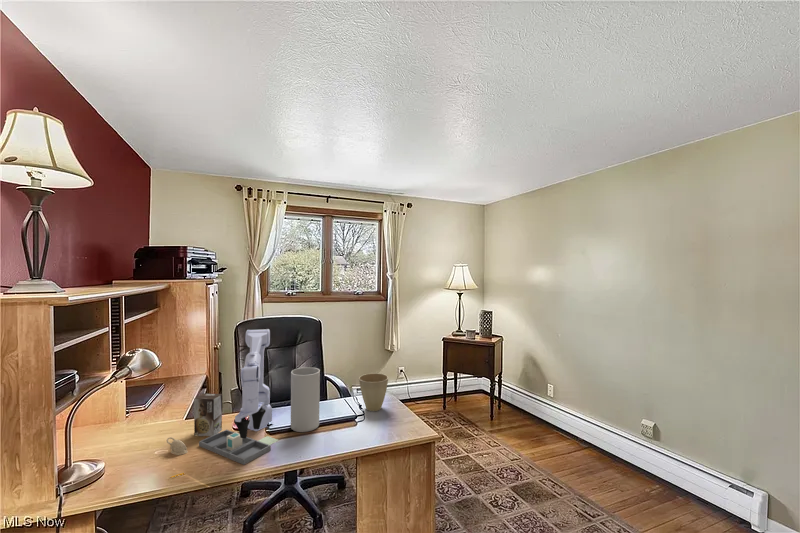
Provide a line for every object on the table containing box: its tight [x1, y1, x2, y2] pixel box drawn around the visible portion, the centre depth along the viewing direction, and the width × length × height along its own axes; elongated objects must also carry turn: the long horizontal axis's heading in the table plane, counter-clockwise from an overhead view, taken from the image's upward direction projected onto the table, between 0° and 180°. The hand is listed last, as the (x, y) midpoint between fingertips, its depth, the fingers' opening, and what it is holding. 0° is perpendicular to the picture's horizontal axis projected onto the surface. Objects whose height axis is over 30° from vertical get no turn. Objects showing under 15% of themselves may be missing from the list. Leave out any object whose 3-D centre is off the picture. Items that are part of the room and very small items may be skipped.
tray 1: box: [198, 429, 236, 453], centre depth 149 cm, size 12×9×2 cm
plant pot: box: [358, 372, 389, 412], centre depth 186 cm, size 15×15×16 cm
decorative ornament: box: [166, 436, 189, 456], centre depth 141 cm, size 4×8×5 cm, turn 66°
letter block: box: [227, 431, 242, 450], centre depth 144 cm, size 4×4×5 cm
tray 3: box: [227, 439, 272, 466], centre depth 140 cm, size 12×9×2 cm
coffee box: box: [193, 393, 223, 437], centre depth 157 cm, size 9×6×16 cm
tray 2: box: [212, 436, 255, 459], centre depth 144 cm, size 12×9×2 cm
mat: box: [257, 435, 280, 446], centre depth 150 cm, size 7×7×1 cm
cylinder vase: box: [290, 366, 321, 433], centre depth 165 cm, size 12×12×25 cm
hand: (250, 433), depth 140 cm, fingers open, 7 cm apart
